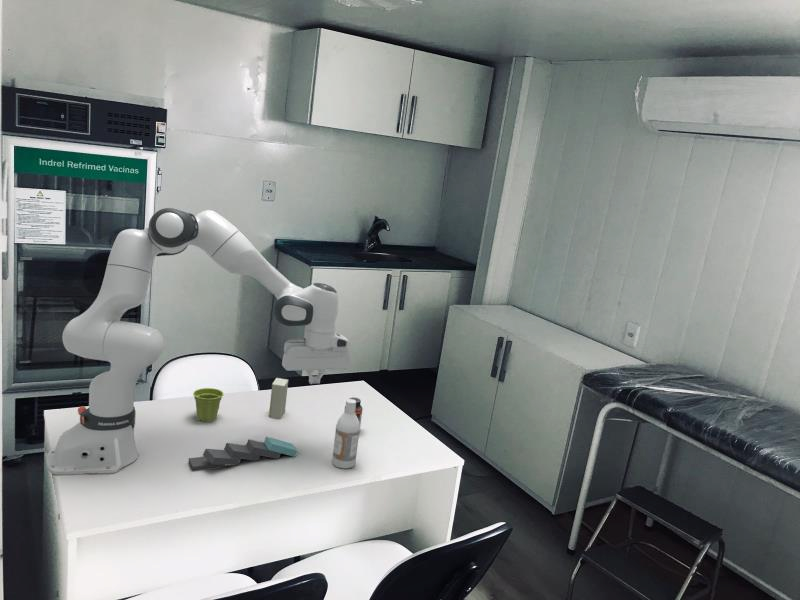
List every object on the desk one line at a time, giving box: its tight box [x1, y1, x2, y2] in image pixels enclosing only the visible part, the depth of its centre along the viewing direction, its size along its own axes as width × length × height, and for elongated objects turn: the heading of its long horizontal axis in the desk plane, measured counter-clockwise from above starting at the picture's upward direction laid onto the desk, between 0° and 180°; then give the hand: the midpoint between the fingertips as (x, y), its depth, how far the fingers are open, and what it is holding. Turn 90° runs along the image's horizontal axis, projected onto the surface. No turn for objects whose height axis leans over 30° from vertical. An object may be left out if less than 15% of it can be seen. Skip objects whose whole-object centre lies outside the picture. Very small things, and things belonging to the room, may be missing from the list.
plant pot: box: [192, 387, 224, 423], centre depth 204 cm, size 9×9×9 cm
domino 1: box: [187, 455, 227, 472], centre depth 176 cm, size 2×5×9 cm
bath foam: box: [331, 398, 361, 470], centre depth 185 cm, size 7×7×20 cm
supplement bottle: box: [343, 396, 363, 425], centre depth 208 cm, size 6×6×11 cm
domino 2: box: [202, 448, 242, 466], centre depth 176 cm, size 2×5×9 cm
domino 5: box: [263, 436, 299, 458], centre depth 187 cm, size 2×5×9 cm
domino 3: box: [223, 442, 261, 462], centre depth 181 cm, size 2×5×9 cm
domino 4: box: [245, 439, 282, 460], centre depth 184 cm, size 2×5×9 cm
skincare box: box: [268, 377, 289, 420], centre depth 213 cm, size 6×4×12 cm
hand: (314, 383), depth 187 cm, fingers closed
